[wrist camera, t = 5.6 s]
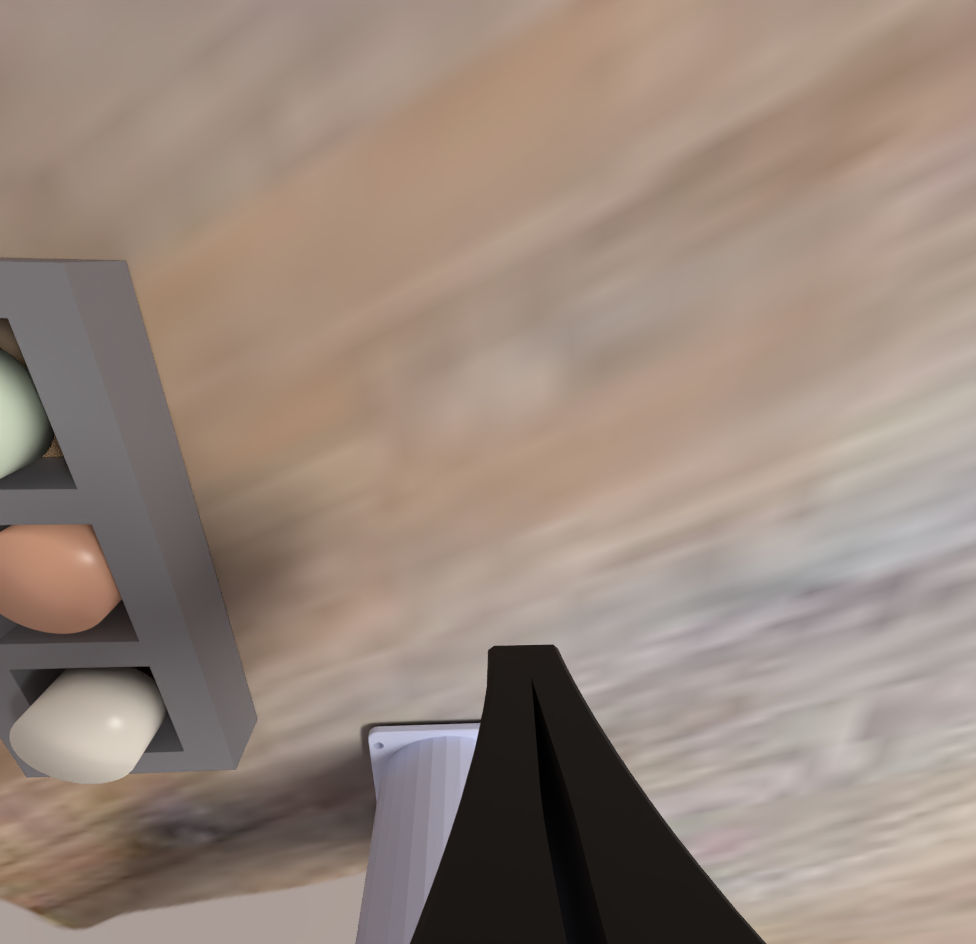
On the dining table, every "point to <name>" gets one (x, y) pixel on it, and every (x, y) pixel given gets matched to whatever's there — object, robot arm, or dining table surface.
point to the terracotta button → (55, 578)
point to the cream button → (90, 724)
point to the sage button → (20, 418)
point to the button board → (118, 517)
